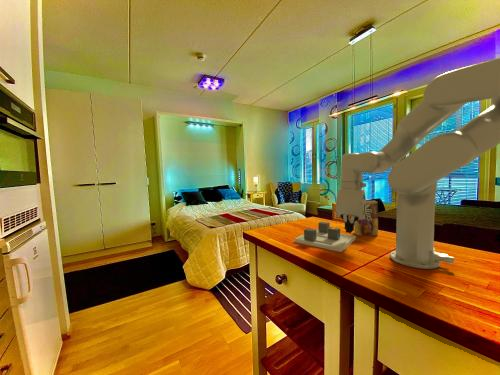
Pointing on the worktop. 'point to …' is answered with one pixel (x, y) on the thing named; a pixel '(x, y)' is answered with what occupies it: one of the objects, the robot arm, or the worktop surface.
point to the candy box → (368, 220)
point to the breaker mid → (334, 233)
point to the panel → (328, 241)
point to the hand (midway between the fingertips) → (349, 231)
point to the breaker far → (323, 227)
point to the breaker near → (310, 234)
